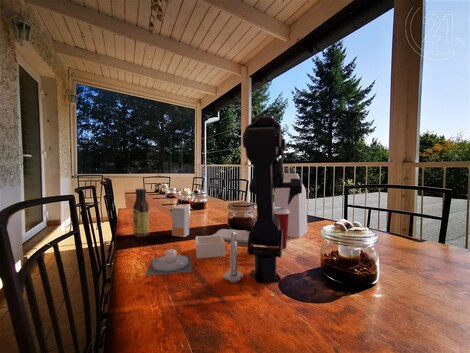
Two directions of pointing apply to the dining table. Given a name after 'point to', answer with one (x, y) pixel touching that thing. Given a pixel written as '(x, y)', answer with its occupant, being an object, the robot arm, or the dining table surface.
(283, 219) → the paper cup
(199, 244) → the dish
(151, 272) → the mat
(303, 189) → the milk
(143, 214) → the sauce bottle
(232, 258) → the screw
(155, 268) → the lid
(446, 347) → the dining table surface
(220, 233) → the washcloth
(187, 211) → the skincare box
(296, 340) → the dining table surface
